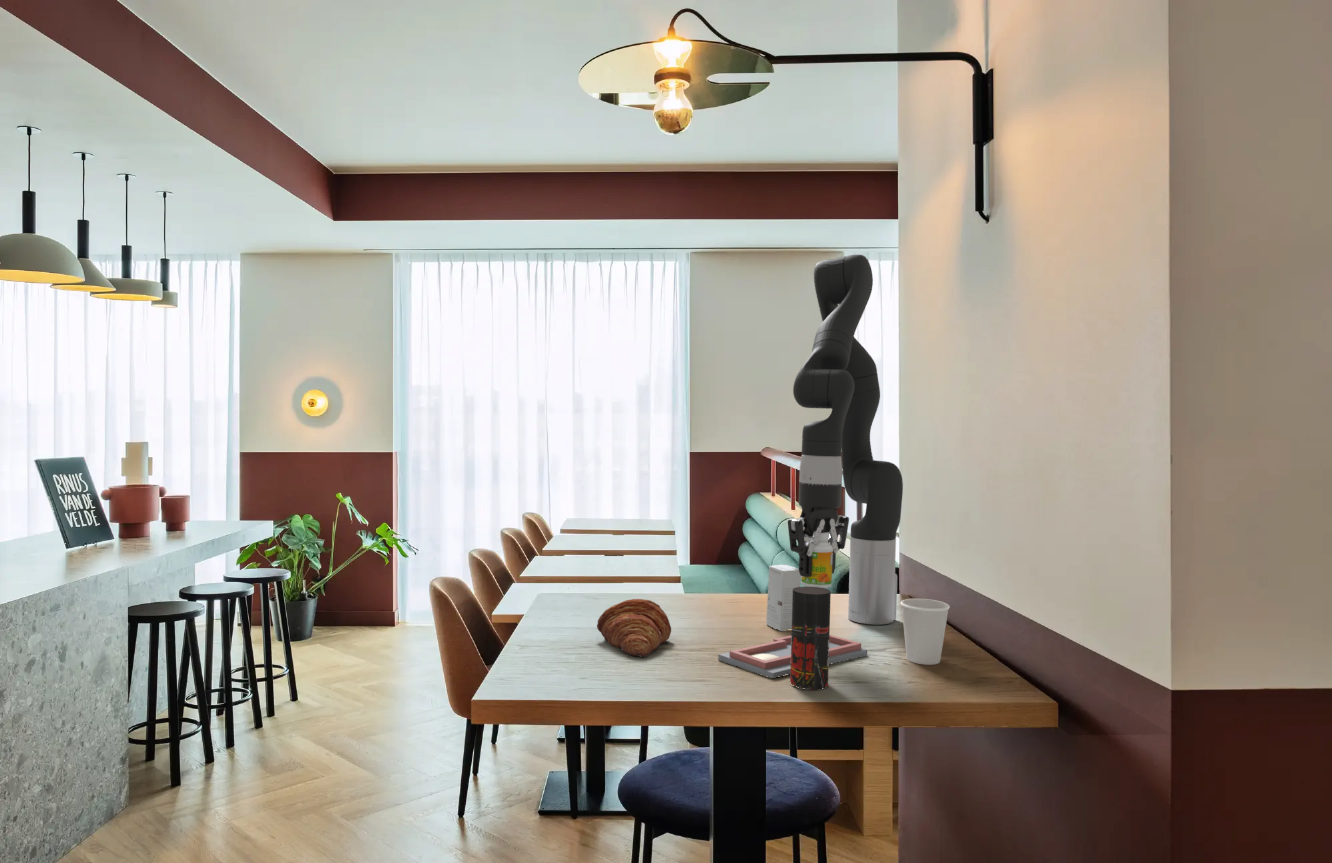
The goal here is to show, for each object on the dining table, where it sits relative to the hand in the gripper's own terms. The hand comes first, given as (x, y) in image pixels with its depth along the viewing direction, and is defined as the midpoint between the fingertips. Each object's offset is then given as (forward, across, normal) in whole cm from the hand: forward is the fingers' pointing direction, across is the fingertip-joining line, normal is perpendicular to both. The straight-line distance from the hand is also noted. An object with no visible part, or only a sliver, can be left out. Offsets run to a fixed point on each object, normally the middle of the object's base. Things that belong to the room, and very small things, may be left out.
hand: (817, 574), depth 159 cm
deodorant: (+14, -15, -12) cm, 24 cm away
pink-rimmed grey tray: (+14, -6, 0) cm, 15 cm away
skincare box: (+14, +8, +16) cm, 23 cm away
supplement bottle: (+2, 0, 0) cm, 2 cm away
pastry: (+15, -22, +24) cm, 36 cm away
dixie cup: (+14, +12, -14) cm, 24 cm away
